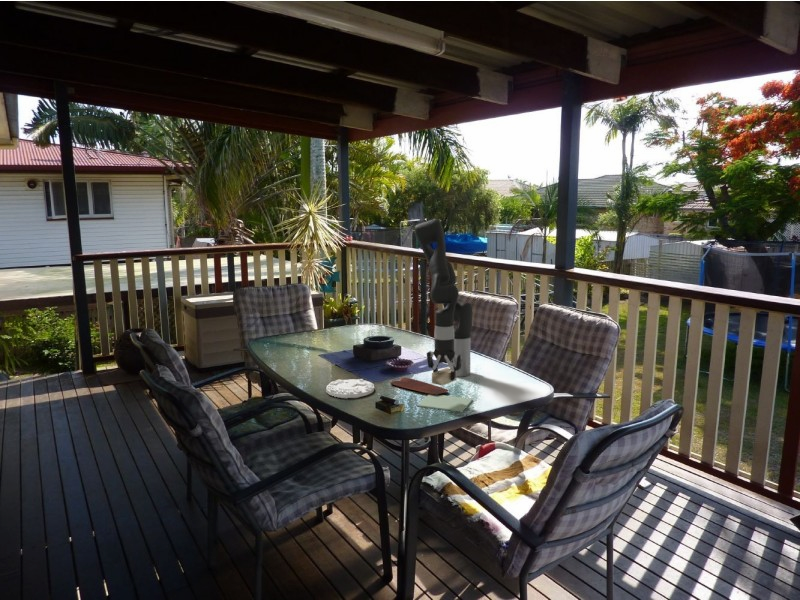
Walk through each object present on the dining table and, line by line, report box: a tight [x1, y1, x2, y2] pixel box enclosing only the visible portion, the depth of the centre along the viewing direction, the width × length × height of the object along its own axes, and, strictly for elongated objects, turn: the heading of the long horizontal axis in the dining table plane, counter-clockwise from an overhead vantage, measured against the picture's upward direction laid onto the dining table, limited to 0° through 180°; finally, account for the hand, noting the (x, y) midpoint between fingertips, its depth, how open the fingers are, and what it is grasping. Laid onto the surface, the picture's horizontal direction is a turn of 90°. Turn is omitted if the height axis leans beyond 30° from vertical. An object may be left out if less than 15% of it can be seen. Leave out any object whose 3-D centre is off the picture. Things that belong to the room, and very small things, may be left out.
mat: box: [416, 393, 474, 413], centre depth 226 cm, size 14×18×1 cm
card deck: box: [431, 367, 458, 387], centre depth 224 cm, size 5×9×4 cm, turn 138°
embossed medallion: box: [325, 378, 375, 400], centre depth 243 cm, size 20×20×3 cm
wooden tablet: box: [389, 377, 450, 395], centre depth 243 cm, size 27×10×2 cm, turn 45°
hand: (444, 379), depth 224 cm, fingers closed on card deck, 6 cm apart
